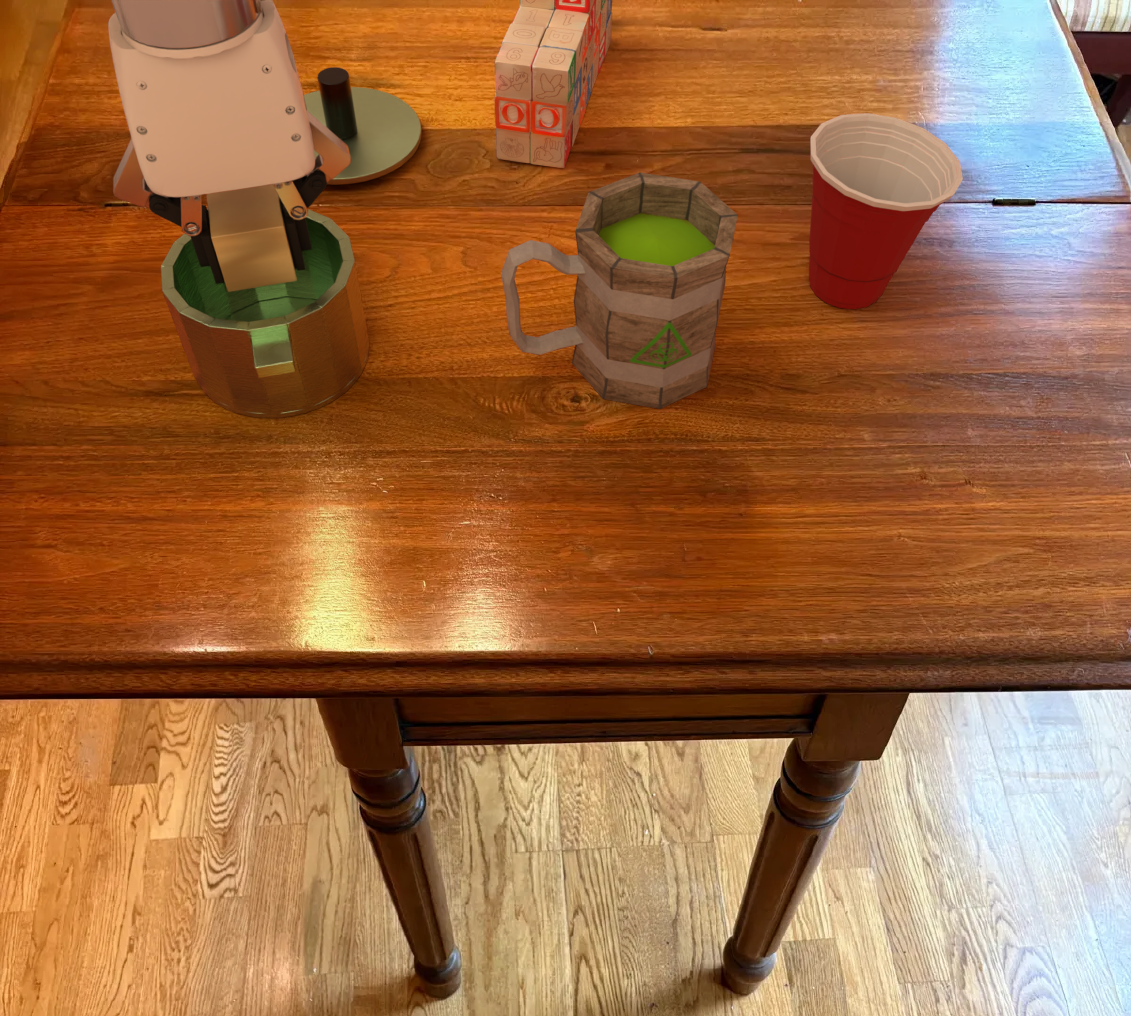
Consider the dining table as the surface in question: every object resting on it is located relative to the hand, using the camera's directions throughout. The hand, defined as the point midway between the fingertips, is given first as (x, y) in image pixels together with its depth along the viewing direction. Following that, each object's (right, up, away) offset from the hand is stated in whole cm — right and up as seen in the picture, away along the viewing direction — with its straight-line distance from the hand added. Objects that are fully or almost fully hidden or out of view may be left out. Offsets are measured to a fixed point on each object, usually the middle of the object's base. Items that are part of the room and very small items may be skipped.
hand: (258, 261), depth 72 cm
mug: (+24, -6, +7) cm, 26 cm away
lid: (+1, +16, +22) cm, 27 cm away
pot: (0, -5, +7) cm, 9 cm away
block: (0, 0, 0) cm, 0 cm away
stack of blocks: (+20, +21, +27) cm, 40 cm away
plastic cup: (+43, +1, +13) cm, 45 cm away
